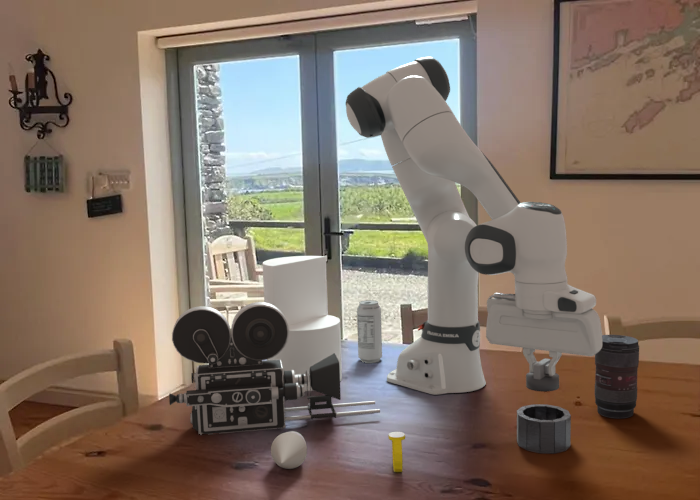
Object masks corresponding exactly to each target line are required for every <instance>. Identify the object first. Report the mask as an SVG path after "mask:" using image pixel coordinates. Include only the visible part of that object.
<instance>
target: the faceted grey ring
mask: <svg viewBox="0 0 700 500" xmlns="http://www.w3.org/2000/svg"><path fill="white" fill-rule="evenodd" d="M571 418H572V416H571V414H570V412H569V410H568V409H566V408H564V407H563V408H562V407H561V406H557V405H552V404H547V403H546V404H542V403H541V404H538V403H536V404H528V405H527V404H526V405H523V406H521V407H519V408H518V409H517V410H516V442H517V446H518V447H520V448H521V449H524V450H525V451H528V452H533V453H536V454H552V455H554V454H559V453H562V452H563V453H564V452H566V451H567V450H568V449H570V448H571V443H572V442H571V441H572V440H571V436H572V434H571V431H572V430H571V428H572V419H571Z"/></svg>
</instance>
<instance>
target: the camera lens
mask: <svg viewBox="0 0 700 500" xmlns="http://www.w3.org/2000/svg"><path fill="white" fill-rule="evenodd" d="M639 360H640V345H639V339H637V338H635V337H632V336H628V335H622V334H621V335H619V334H602V348H601V350H600V351H599V352H598V353H597V354H595V355H594V365H595V374H594V375H595V379H594V400H595V401H594V403H595V405H596V406H597V407H596V408H597V412H598V414H599V415H601V416H603V417H605V418H610V419H627V418H630V417H633V416H634V411H635V408H636V407H637V402H638V401H637V400H638V370H639V369H638V368H639V363H640V361H639Z"/></svg>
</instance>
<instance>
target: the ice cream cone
mask: <svg viewBox="0 0 700 500" xmlns="http://www.w3.org/2000/svg"><path fill="white" fill-rule="evenodd" d="M270 454H271V455H270V456H271V458H272V460H273V461H274V463H275V464H277V466H279V467H280V468H283V469H285V470H293V469H296V468H298V467H299V466H301V465H302V464H303V463H304V461H305V460H306V458H307V454H308V447H307V442H306V440H305V438H304V436H303V435H302V434H301V433H300V432H297V431H293V430H292V431H286V432H283V433H280V434H279V435H278V436H277V435H276V437H275V438H274V440H273V441H272V443H271V447H270Z"/></svg>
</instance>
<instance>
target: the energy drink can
mask: <svg viewBox="0 0 700 500" xmlns="http://www.w3.org/2000/svg"><path fill="white" fill-rule="evenodd" d="M356 315H357V316H356V321H357V322H356V323H357V355H358V358H359V360H360V362H361V361H362V363H364V362H365V364H374V363H379V362H380V361H381V359H382V358H383V343H382V342H383V340H382V339H383V338H382V336H383V335H382V331H383V330H382V308H381V305H380V304H379V300H374V299H372V300H371V299H369V300H368V299H367V300H361V301H359V303H358V307H357V309H356Z"/></svg>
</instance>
